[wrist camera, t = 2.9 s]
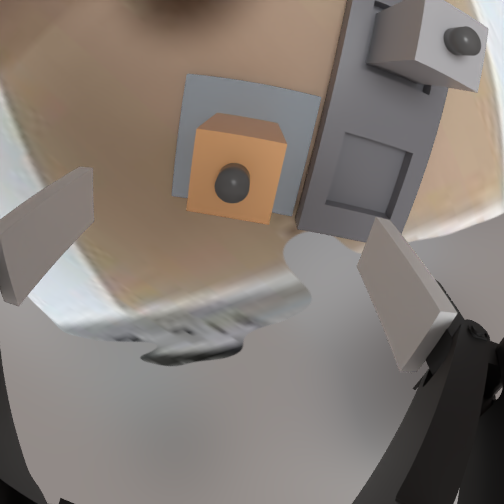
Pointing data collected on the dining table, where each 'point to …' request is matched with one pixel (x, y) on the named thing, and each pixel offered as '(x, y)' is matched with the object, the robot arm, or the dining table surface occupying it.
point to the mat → (252, 106)
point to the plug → (236, 167)
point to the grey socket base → (385, 111)
